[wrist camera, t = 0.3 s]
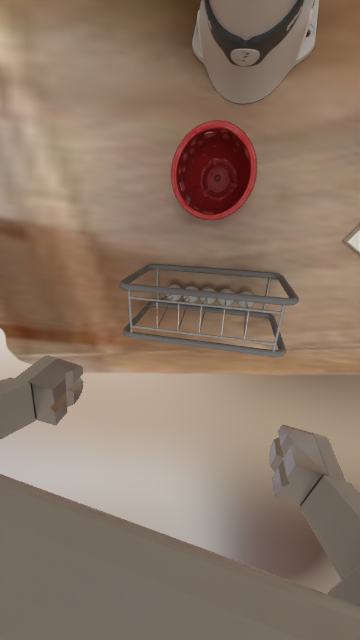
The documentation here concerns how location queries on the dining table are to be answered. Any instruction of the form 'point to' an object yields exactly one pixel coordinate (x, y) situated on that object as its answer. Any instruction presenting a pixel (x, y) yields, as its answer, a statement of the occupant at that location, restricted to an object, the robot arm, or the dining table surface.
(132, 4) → the dining table surface
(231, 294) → the newton's cradle
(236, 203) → the plant pot
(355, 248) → the pointer dial board
